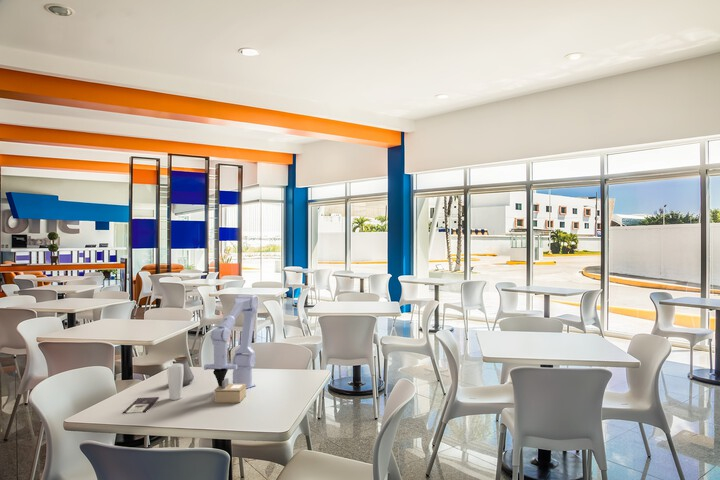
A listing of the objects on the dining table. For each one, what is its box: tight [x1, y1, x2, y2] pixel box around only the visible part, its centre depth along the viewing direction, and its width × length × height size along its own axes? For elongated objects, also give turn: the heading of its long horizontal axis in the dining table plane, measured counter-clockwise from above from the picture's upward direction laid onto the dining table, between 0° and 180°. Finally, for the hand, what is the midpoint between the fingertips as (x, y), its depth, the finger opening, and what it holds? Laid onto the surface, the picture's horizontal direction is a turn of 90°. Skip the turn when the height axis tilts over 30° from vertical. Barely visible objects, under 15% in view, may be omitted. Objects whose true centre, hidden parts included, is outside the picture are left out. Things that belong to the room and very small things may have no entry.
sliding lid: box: [213, 377, 246, 392], centre depth 209 cm, size 11×9×4 cm
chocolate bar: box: [122, 396, 160, 414], centre depth 203 cm, size 9×1×18 cm
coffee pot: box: [169, 356, 195, 387], centre depth 229 cm, size 21×12×15 cm, turn 6°
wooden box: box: [214, 386, 247, 404], centre depth 209 cm, size 11×9×5 cm
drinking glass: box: [166, 363, 184, 401], centre depth 211 cm, size 7×7×15 cm
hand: (220, 385), depth 209 cm, fingers closed
